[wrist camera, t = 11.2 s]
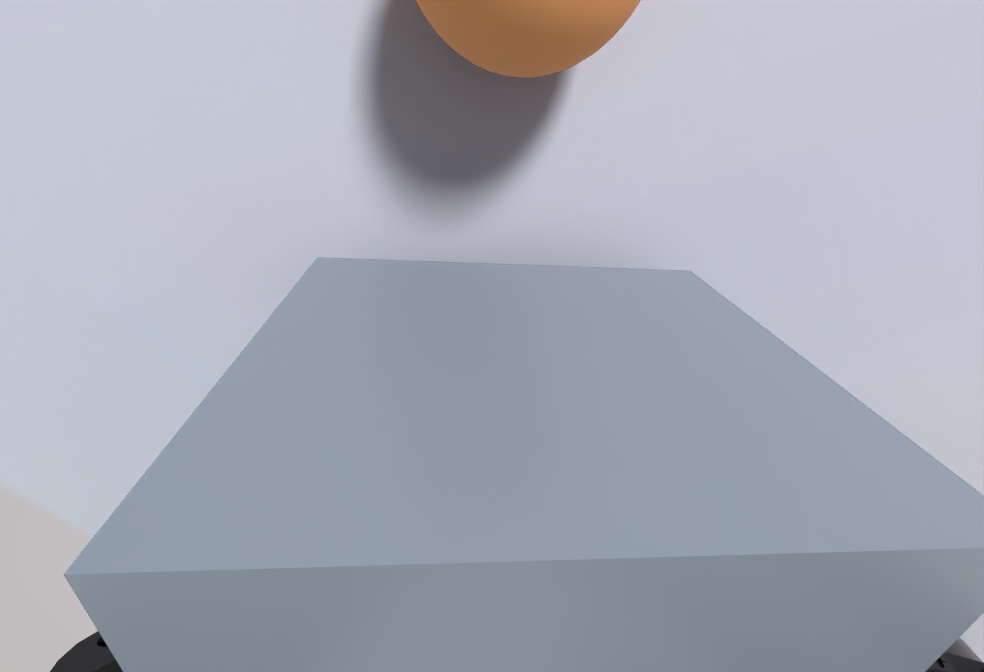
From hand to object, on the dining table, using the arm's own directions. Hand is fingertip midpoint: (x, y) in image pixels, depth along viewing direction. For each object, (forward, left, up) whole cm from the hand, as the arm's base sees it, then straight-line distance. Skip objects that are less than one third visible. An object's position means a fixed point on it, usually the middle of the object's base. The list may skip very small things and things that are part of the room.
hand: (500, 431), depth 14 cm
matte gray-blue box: (0, 0, -1) cm, 1 cm away
